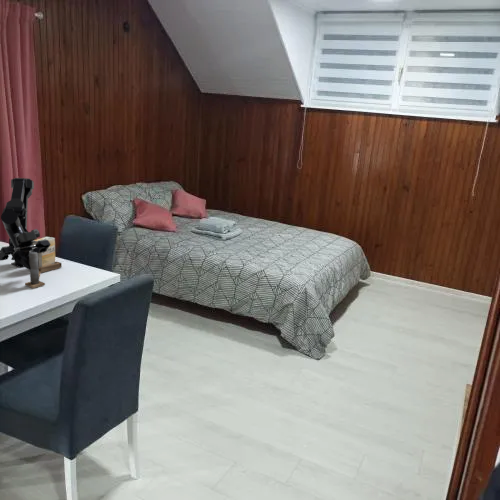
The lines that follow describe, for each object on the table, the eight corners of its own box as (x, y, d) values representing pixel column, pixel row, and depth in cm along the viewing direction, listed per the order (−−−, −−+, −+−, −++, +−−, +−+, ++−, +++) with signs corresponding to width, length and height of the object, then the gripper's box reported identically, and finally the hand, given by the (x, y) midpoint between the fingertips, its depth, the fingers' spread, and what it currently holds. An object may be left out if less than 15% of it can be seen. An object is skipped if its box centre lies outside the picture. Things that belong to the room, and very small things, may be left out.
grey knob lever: (8, 278, 186) (6, 247, 183) (57, 265, 205) (56, 237, 201) (33, 288, 179) (31, 256, 175) (81, 274, 197) (80, 244, 194)
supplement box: (42, 272, 197) (41, 242, 193) (33, 270, 198) (31, 240, 194) (56, 266, 204) (55, 237, 201) (47, 264, 206) (46, 235, 202)
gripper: (-1, 226, 171) (17, 262, 168) (47, 219, 186) (64, 252, 183) (-10, 242, 178) (7, 277, 175) (36, 234, 192) (53, 267, 189)
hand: (34, 268), depth 180 cm, fingers closed on grey knob lever, 3 cm apart
